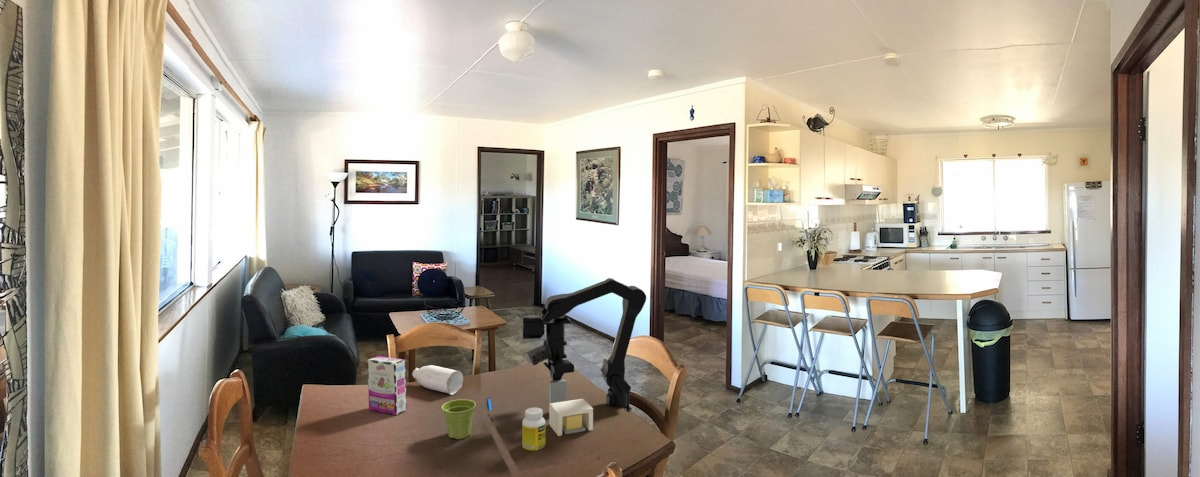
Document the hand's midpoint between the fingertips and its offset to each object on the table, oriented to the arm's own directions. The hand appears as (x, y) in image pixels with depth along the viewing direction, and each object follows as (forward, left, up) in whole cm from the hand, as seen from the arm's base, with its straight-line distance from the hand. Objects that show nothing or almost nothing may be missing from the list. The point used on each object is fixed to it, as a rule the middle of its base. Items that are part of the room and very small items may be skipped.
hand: (555, 386), depth 176 cm
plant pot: (+30, +5, -9) cm, 32 cm away
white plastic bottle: (+32, -34, -9) cm, 48 cm away
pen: (+18, -10, -9) cm, 23 cm away
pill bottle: (+13, +22, -9) cm, 27 cm away
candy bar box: (+48, -21, -9) cm, 53 cm away
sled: (0, +10, -8) cm, 13 cm away
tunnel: (0, +11, -8) cm, 14 cm away
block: (0, +15, -7) cm, 17 cm away
